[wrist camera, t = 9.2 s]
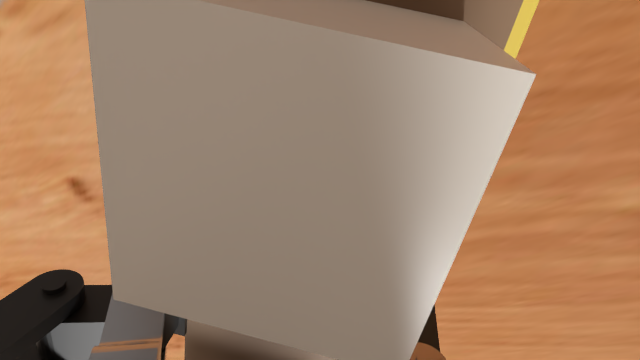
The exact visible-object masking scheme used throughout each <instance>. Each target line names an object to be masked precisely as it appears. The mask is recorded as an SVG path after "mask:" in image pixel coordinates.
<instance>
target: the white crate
mask: <svg viewBox="0 0 640 360" xmlns="http://www.w3.org/2000/svg"><path fill="white" fill-rule="evenodd" d="M85 9H86V20H87V30H88V40H89V51H90V61H91V72H92V82H93V92H94V103H95V113H96V124H97V134H98V144H99V155H100V165H101V175H102V186H103V196H104V207H105V217H106V227H107V238H108V248H109V259H110V269H111V279H112V290H113V299H114V300H117V301H121V302H125V303H129V304H132V305H136V306H140V307H144V308H147V309H151V310H155V311H159V312H162V313H166V314H170V315H173V316H177V317H181V318H185V319H188V320H192V321H196V322H200V323H203V324H207V325H211V326H215V327H218V328H222V329H226V330H229V331H233V332H237V333H241V334H244V335H248V336H252V337H256V338H259V339H263V340H267V341H271V342H274V343H278V344H282V345H285V346H289V347H293V348H297V349H300V350H304V351H308V352H312V353H315V354H319V355H323V356H327V357H330V358H334V359H338V360H410V358H411V355H412V353H413V351H414V349H415V346H416V344H417V342H418V340H419V337H420V335H421V333H422V331H423V328H424V326H425V324H426V322H427V319H428V317H429V315H430V313H431V310H432V308H433V306H434V304H435V301H436V299H437V297H438V295H439V292H440V290H441V288H442V286H443V283H444V281H445V279H446V277H447V274H448V272H449V270H450V268H451V265H452V263H453V261H454V259H455V256H456V254H457V252H458V250H459V247H460V245H461V243H462V241H463V238H464V236H465V234H466V232H467V229H468V227H469V225H470V223H471V220H472V218H473V216H474V214H475V211H476V209H477V207H478V205H479V202H480V200H481V198H482V196H483V193H484V191H485V189H486V186H487V184H488V182H489V180H490V177H491V175H492V173H493V171H494V168H495V166H496V164H497V162H498V159H499V157H500V155H501V153H502V150H503V148H504V146H505V144H506V141H507V139H508V137H509V135H510V132H511V130H512V128H513V126H514V123H515V121H516V119H517V117H518V114H519V112H520V110H521V108H522V105H523V103H524V101H525V99H526V96H527V94H528V92H529V90H530V87H531V85H532V83H533V81H534V78H535V76H536V74H535V73H534V72H532V71H531V70H530V69H528V68H527V67H525V66H524V65H523V64H521V63H520V62H519V61H517V60H516V59H515V58H513V57H512V56H510V55H509V54H508V53H506V52H505V51H504V50H502V49H501V48H499V47H498V46H497V45H495V44H494V43H493V42H491V41H490V40H489V39H487V38H486V37H484V36H483V35H482V34H480V33H479V32H478V31H476V30H475V29H473V28H472V27H471V26H469V25H468V24H467V23H465V22H464V21H460V20H456V19H451V18H446V17H442V16H437V15H432V14H427V13H423V12H418V11H413V10H409V9H404V8H399V7H395V6H390V5H385V4H381V3H376V2H371V1H366V0H85Z"/></svg>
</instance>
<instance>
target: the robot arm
mask: <svg viewBox="0 0 640 360" xmlns="http://www.w3.org/2000/svg"><path fill="white" fill-rule="evenodd" d="M186 333H187V319H185V318H181V317H177V316H173V315H170V314H166V313H162V312H159V311H155V310H151V309H147V308H144V307H140V306H136V305H132V304H129V303H125V302H121V301H117V300H114V299H113V290H112V285H84V281H83V278H82V276H81V275H80V274H79V273H77V272H75V271H71V270H53V271H49V272H46V273H43V274H41V275H39V276H37V277H35V278H34V279H32V280H31V281H29V282H28V283H26V284H25V285H23V286H22V287H20V288H18V289H17V290H15V291H14V292H12V293H11V294H9V295H8V296H6V297H5V298H3V299H2V300H0V360H166V353H167V343H168V342H169V340H170V338H171V337H172V335H173V334H178V335H182V336H185V334H186ZM410 360H446V358H445V357H444V356H443V355H442V354H441V353H440V348H439V339H438V331H437V322H436V314H435V305H434V306H433V308H432V310H431V313H430V315H429V317H428V319H427V322H426V324H425V326H424V328H423V331H422V333H421V335H420V337H419V340H418V342H417V344H416V346H415V349H414V351H413V353H412V355H411V358H410Z"/></svg>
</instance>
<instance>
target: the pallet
mask: <svg viewBox="0 0 640 360" xmlns="http://www.w3.org/2000/svg"><path fill="white" fill-rule="evenodd" d="M366 1H371V2H376V3H381V4H385V5H390V6H395V7H399V8H404V9H409V10H413V11H418V12H423V13H427V14H432V15H437V16H442V17H446V18H451V19H456V20H460V21H464V22H465V23H467V24H468V25H469V26H471V27H472V28H473V29H475V30H476V31H478V32H479V33H480V34H482V35H483V36H484V37H486V38H487V39H489V40H490V41H491V42H493V43H494V44H495V45H497V46H498V47H499V48H501V49H502V50H504V48H505V46H506V43H507V41H508V38H509V36H510V33H511V31H512V28H513V26H514V23H515V21H516V18H517V15H518V13H519V10H520V8H521V5H522V3H523V0H366ZM185 360H338V359H334V358H330V357H327V356H323V355H319V354H315V353H312V352H308V351H304V350H300V349H297V348H293V347H289V346H285V345H282V344H278V343H274V342H271V341H267V340H263V339H259V338H256V337H252V336H248V335H244V334H241V333H237V332H233V331H229V330H226V329H222V328H218V327H215V326H211V325H207V324H203V323H200V322H196V321H192V320H188V319H187V333H186V334H185Z"/></svg>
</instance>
